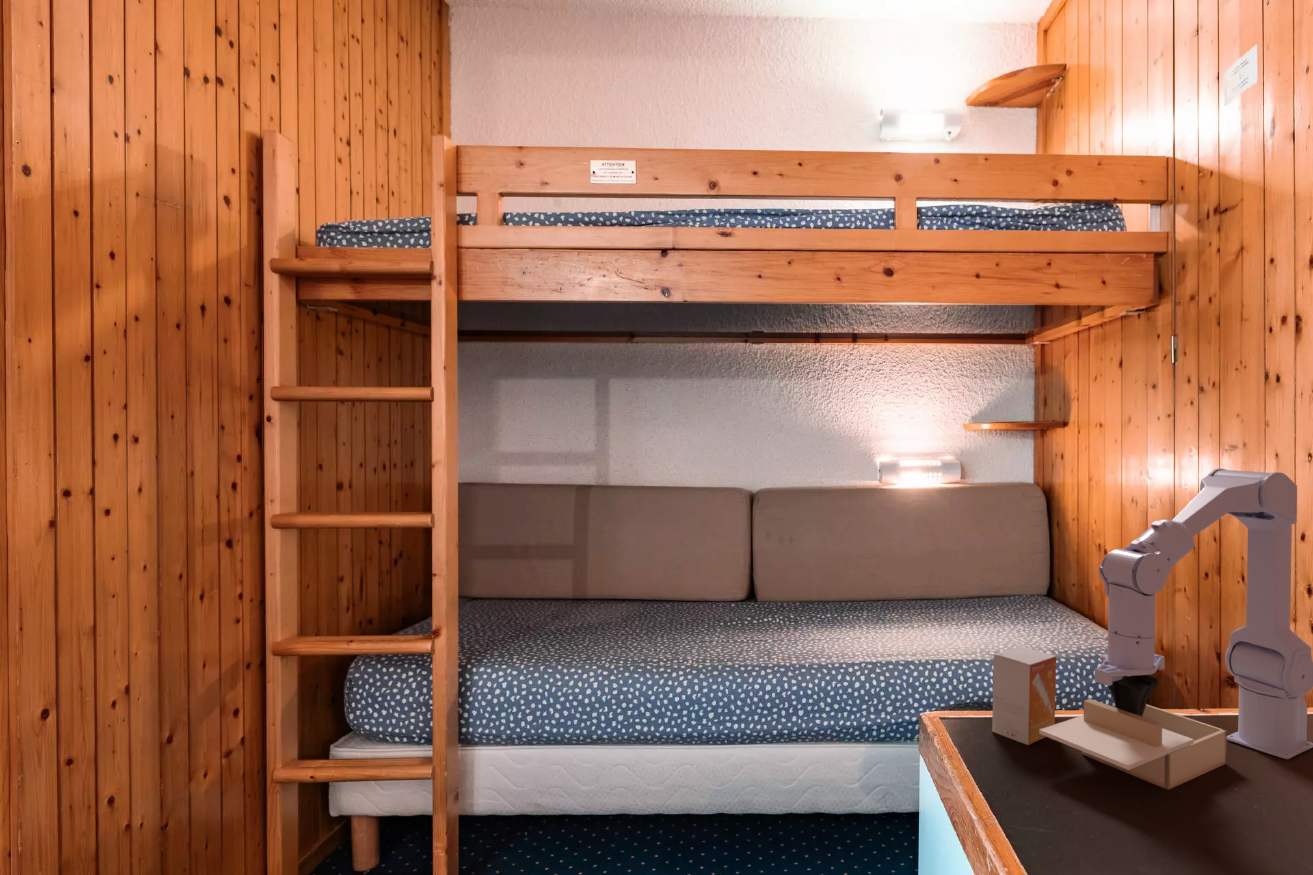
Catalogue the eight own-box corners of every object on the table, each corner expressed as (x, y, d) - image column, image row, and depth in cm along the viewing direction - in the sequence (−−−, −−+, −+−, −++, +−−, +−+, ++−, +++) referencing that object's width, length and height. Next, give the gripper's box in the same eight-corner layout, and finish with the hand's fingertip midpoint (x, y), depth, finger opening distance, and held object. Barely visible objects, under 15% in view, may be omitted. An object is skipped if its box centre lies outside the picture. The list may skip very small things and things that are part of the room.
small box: (1029, 746, 112) (1030, 664, 112) (991, 731, 118) (992, 653, 117) (1056, 734, 117) (1057, 655, 117) (1018, 720, 122) (1019, 644, 122)
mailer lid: (1104, 711, 113) (1104, 689, 113) (1193, 743, 102) (1194, 718, 102) (1039, 733, 105) (1039, 709, 105) (1128, 769, 94) (1128, 742, 94)
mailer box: (1140, 732, 117) (1140, 702, 117) (1226, 763, 107) (1226, 730, 107) (1081, 754, 110) (1082, 721, 110) (1168, 789, 99) (1168, 754, 99)
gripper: (1130, 619, 112) (1128, 705, 112) (1074, 632, 105) (1072, 723, 105) (1180, 631, 106) (1179, 721, 106) (1124, 645, 99) (1123, 742, 99)
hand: (1129, 724), depth 105 cm, fingers closed
